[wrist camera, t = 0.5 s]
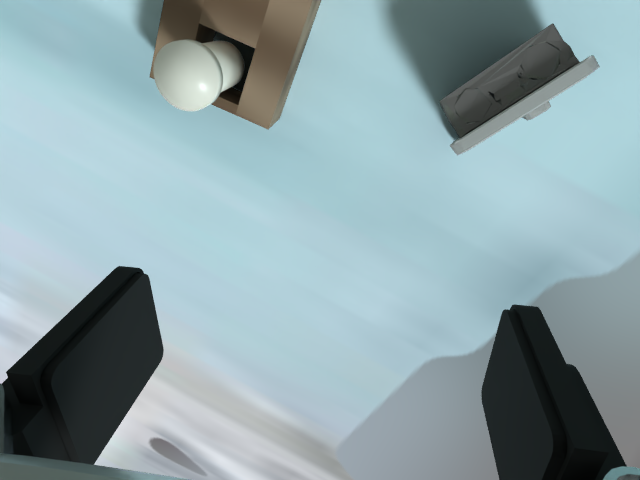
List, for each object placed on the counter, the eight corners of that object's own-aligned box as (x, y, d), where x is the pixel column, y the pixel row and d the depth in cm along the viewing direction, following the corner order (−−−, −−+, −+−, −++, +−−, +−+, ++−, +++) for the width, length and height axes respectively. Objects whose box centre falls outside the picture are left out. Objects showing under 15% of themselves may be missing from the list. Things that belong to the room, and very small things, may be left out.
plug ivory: (204, 24, 32) (160, 28, 26) (256, 48, 33) (225, 57, 27) (191, 79, 34) (147, 95, 28) (240, 101, 35) (208, 121, 29)
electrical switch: (457, 149, 37) (469, 178, 29) (425, 98, 36) (427, 112, 28) (568, 80, 34) (618, 90, 25) (535, 21, 33) (576, 10, 24)
